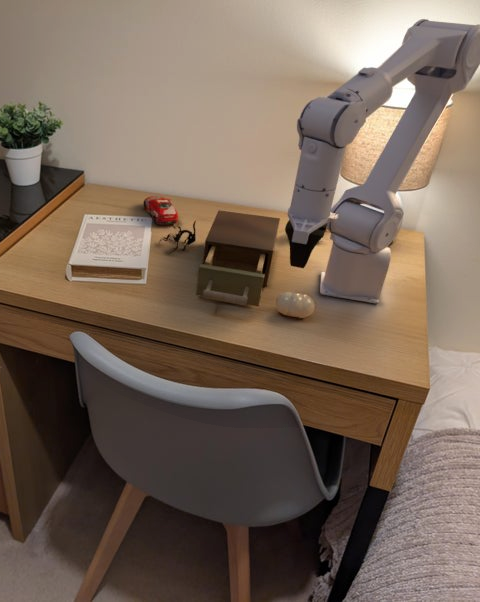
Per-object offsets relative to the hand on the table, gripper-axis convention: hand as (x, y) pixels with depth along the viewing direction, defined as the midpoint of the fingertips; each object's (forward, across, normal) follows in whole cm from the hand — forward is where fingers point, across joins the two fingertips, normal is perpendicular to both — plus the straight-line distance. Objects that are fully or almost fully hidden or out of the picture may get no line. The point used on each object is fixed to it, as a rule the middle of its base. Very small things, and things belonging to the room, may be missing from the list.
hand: (297, 265), depth 90 cm
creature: (+10, +16, +25) cm, 31 cm away
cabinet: (+10, +14, +12) cm, 21 cm away
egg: (+9, 0, -1) cm, 9 cm away
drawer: (+9, +3, +10) cm, 14 cm away
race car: (+10, +29, +33) cm, 45 cm away
